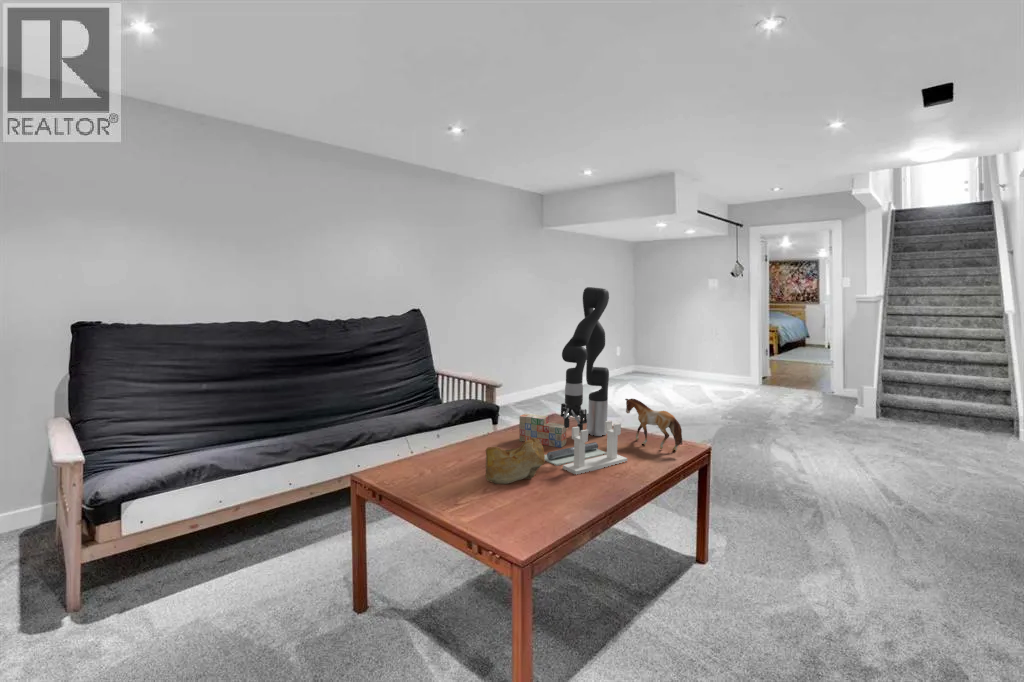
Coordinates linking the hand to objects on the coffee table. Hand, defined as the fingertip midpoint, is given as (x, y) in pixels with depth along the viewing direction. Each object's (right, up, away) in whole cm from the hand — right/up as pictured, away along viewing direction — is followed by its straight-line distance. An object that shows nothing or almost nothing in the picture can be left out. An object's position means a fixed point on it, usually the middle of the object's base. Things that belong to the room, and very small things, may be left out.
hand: (573, 430), depth 221 cm
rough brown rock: (-26, -14, -24) cm, 38 cm away
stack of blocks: (-12, -10, +19) cm, 25 cm away
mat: (0, -11, +1) cm, 11 cm away
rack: (+8, -13, -11) cm, 18 cm away
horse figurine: (+37, -11, +12) cm, 40 cm away
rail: (0, -11, +1) cm, 11 cm away
